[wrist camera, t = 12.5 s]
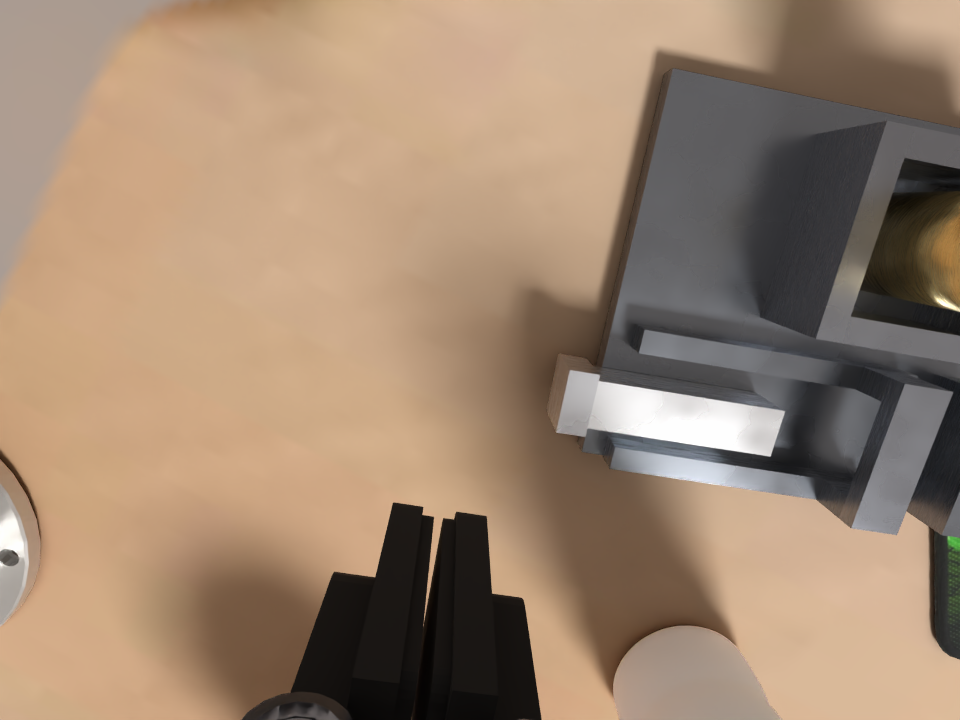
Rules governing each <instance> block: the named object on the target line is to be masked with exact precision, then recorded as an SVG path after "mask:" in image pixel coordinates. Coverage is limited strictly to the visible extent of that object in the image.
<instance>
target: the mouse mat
mask: <svg viewBox="0 0 960 720" xmlns="http://www.w3.org/2000/svg"><path fill="white" fill-rule="evenodd" d="M934 550H935V554H934V564H935V576H934V579H935V581H934V587H935V597H934V599H935V606H934V607H935V617H934V618H935V620H934V624H935V629H936V638H937V642H938V644H939V646H940V647H941V648H942V650H943V651H944V652H945V653H947V654H948V655H949V656H951V657H955V658H957V659H960V538H957V537H950V536H944V535H941V534H939V533H938V532H936V531H935V530H934Z"/></svg>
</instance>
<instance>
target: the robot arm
mask: <svg viewBox="0 0 960 720" xmlns="http://www.w3.org/2000/svg"><path fill="white" fill-rule="evenodd" d="M422 513H423V507H420V506H414V505H407V504H400V503H393V505H392V510H391V514H390V518H389V522H388V526H387V531H386V535H385V539H384V543H383V547H382V552H381V556H380V560H379V564H378V569H377V573H376V577H368V576H360V575H353V574H346V573H339V572H334V573H333V575H332V577H331V580H330V583H329V585H328V588H327V591H326V594H325V597H324V600H323V602H322V605H321V608H320V611H319V614H318V616H317V619H316V622H315V625H314V628H313V631H312V633H311V636H310V639H309V642H308V645H307V648H306V650H305V653H304V656H303V659H302V662H301V665H300V667H299V670H298V673H297V676H296V679H295V682H294V684H293V687H292V690H291V693H286V694H281V695H278V696H276V697H273V698H270V699H268V700H265V701H263V702H262V703H260V704H259V705H257V706H256V707H255V708H253V709H252V710H250V711H249V712H248V713H247V714H246V715H245V716H244V717H243V719H242V720H411V718H412V720H541V713H540V706H539V699H538V693H537V686H536V679H535V672H534V665H533V658H532V651H531V645H530V638H529V631H528V624H527V617H526V610H525V605H524V600H523V599H522V598H519V597H512V596H505V595H498V594H492V588H491V573H490V558H489V543H488V528H487V517H486V516H481V515H475V514H468V513H461V512H456V514H455V518H454V520H452V519H445V518H443V522H442V527H441V532H440V538H439V543H438V549H437V554H436V560H435V565H434V571H433V576H432V582H431V588H430V593H429V599H428V604H427V610H426V615H425V621H424V613H425V603H426V593H427V582H428V572H429V562H430V552H431V542H432V532H433V522H434V517H432V516H425V515H422ZM40 549H41V541H40V536H39V530H38V524H37V519H36V517H35V514H34V512H33V509H32V507H31V504H30V502H29V499H28V497H27V495H26V493H25V492H24V490H23V489H22V487H21V485H20V484H19V482H18V481H17V479H16V478H15V476H14V474H13V473H12V472H11V471H10V470H9V469H8V467H7V466H6V465H5V464H4V463H3V462H2V461H1V460H0V627H1V626H2V625H3V624H4V623H5V622H6V621H7V620H8V619H9V618H10V617H11V616H12V615H13V614H14V613H15V612H16V611H17V610H18V609H19V608H20V607H21V606H22V605H23V603H24V602H25V600H26V598H27V596H28V595H29V593H30V591H31V590H32V588H33V586H34V583H35V580H36V576H37V573H38V569H39V566H40ZM423 623H424V626H423Z"/></svg>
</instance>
